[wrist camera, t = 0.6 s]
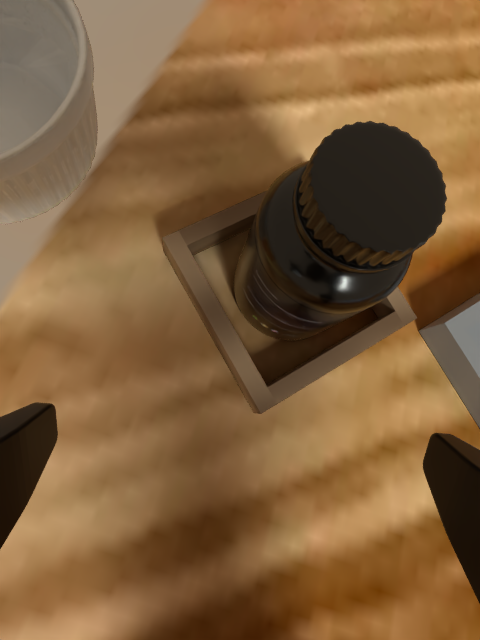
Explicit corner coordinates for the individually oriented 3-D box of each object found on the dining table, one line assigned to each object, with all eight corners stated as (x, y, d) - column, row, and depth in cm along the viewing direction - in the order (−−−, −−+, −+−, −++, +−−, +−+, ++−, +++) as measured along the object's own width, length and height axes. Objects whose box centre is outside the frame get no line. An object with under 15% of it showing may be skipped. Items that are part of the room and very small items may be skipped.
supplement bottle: (267, 218, 25) (345, 55, 13) (354, 277, 25) (508, 166, 13) (208, 302, 23) (239, 199, 11) (302, 365, 23) (429, 326, 11)
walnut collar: (398, 324, 25) (417, 317, 23) (253, 412, 22) (261, 414, 20) (310, 183, 26) (321, 166, 24) (163, 251, 23) (162, 237, 21)
